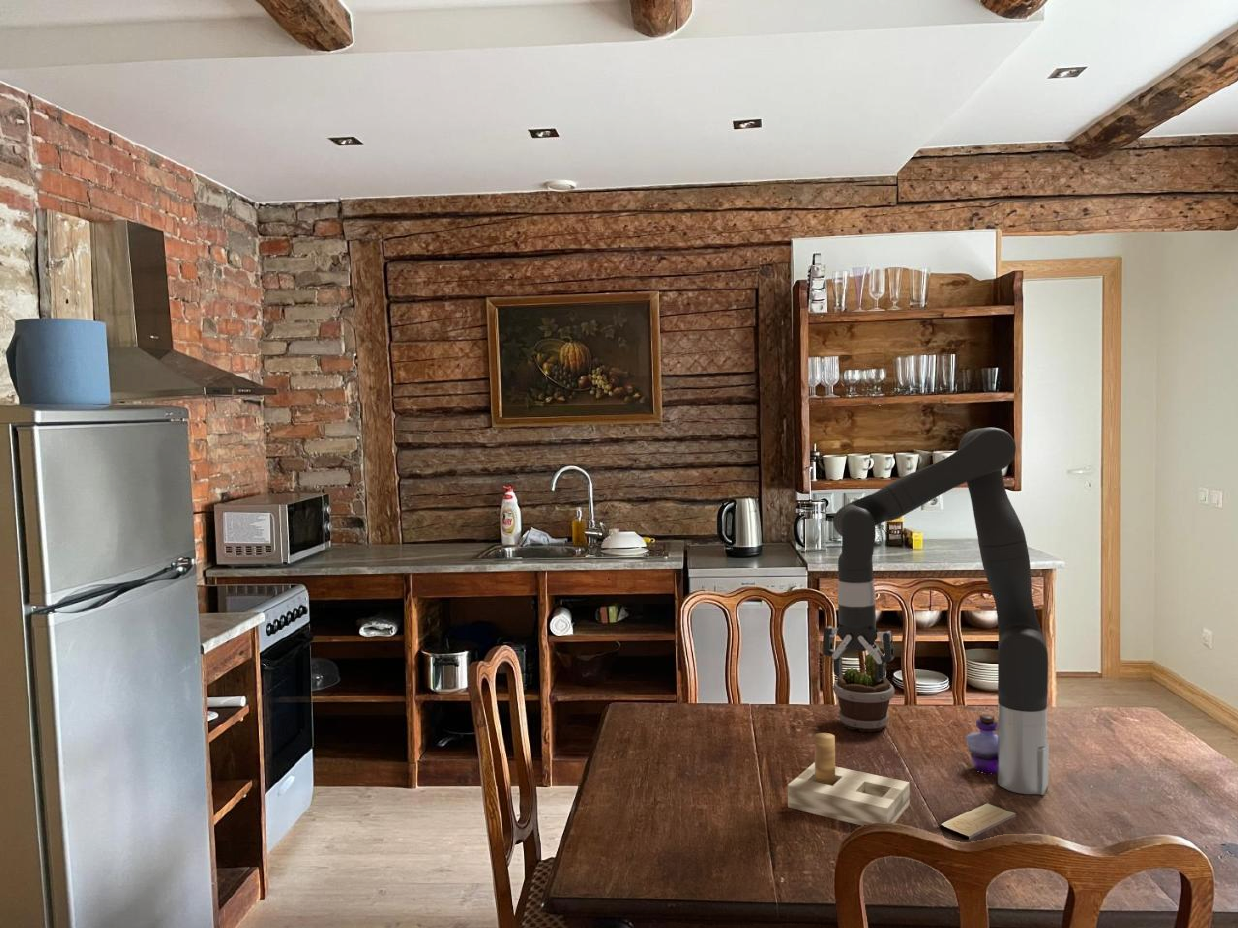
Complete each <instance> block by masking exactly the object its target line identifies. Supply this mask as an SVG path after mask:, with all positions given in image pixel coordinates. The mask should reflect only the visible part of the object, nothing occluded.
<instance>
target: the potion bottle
mask: <svg viewBox="0 0 1238 928" xmlns="http://www.w3.org/2000/svg"><path fill="white" fill-rule="evenodd" d="M975 727H976V728H977V729H979V732H970V733H969V734H968V735H966V736H965V740H966V744H967V749H968V751H969V752H970V756H971V760H972V761H971V762H972V765H973V768H974V769H976V770H977V771H979V772H983V775H986V776H989V774H991V773H992V774H994V775H995V776H996V775H998V734H996V733H995V732H996V731H998V721H995V716H994V715H991V714H986V713H984V714H979V719H977V720H975ZM974 769H973V770H974ZM979 772H977V773H979ZM984 773H986V774H984ZM979 774H980V773H979ZM992 774H991V775H990V776H992Z"/></svg>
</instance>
